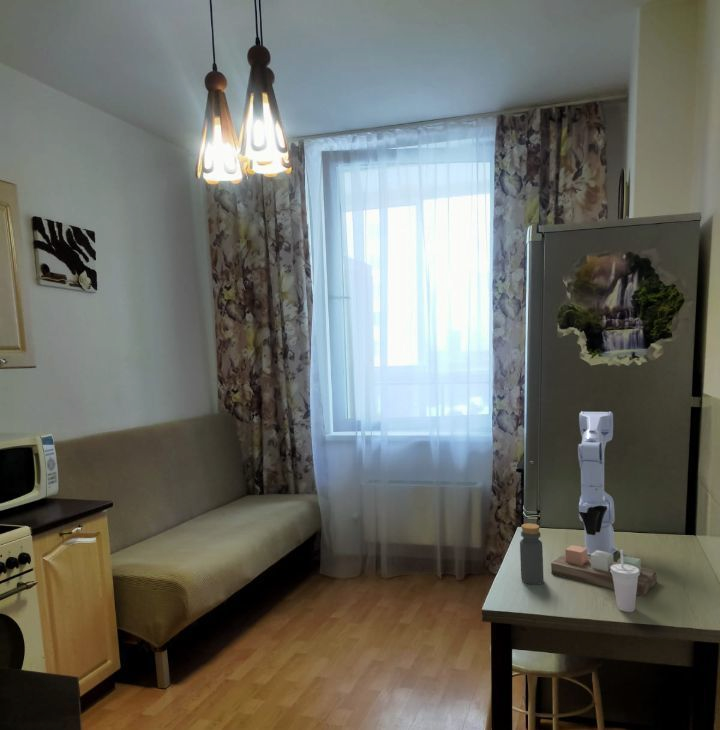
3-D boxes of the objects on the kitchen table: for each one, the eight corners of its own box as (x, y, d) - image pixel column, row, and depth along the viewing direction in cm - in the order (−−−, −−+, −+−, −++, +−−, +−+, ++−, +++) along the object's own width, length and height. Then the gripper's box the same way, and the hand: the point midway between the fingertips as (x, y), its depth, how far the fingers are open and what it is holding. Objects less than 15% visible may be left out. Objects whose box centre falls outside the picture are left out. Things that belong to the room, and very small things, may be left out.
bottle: (533, 586, 151) (531, 530, 151) (516, 579, 156) (514, 525, 156) (548, 581, 154) (546, 526, 154) (530, 574, 159) (529, 521, 159)
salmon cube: (572, 558, 163) (571, 545, 163) (587, 562, 160) (587, 548, 160) (565, 563, 160) (565, 549, 160) (581, 567, 157) (581, 552, 156)
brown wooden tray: (568, 562, 167) (567, 551, 167) (656, 582, 151) (656, 570, 151) (551, 573, 159) (551, 562, 159) (643, 596, 143) (642, 584, 143)
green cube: (623, 570, 153) (623, 555, 153) (641, 574, 150) (640, 559, 150) (617, 575, 150) (617, 560, 150) (635, 579, 147) (635, 563, 147)
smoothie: (615, 600, 141) (613, 544, 141) (643, 606, 137) (642, 549, 137) (608, 610, 136) (606, 552, 136) (637, 617, 132) (635, 557, 132)
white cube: (597, 564, 158) (596, 550, 158) (613, 568, 155) (613, 553, 155) (591, 569, 155) (590, 554, 155) (607, 573, 152) (607, 558, 152)
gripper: (596, 490, 153) (598, 541, 152) (615, 482, 163) (617, 529, 163) (570, 487, 157) (572, 537, 157) (591, 479, 168) (592, 525, 168)
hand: (593, 533), depth 160 cm, fingers open, 3 cm apart
